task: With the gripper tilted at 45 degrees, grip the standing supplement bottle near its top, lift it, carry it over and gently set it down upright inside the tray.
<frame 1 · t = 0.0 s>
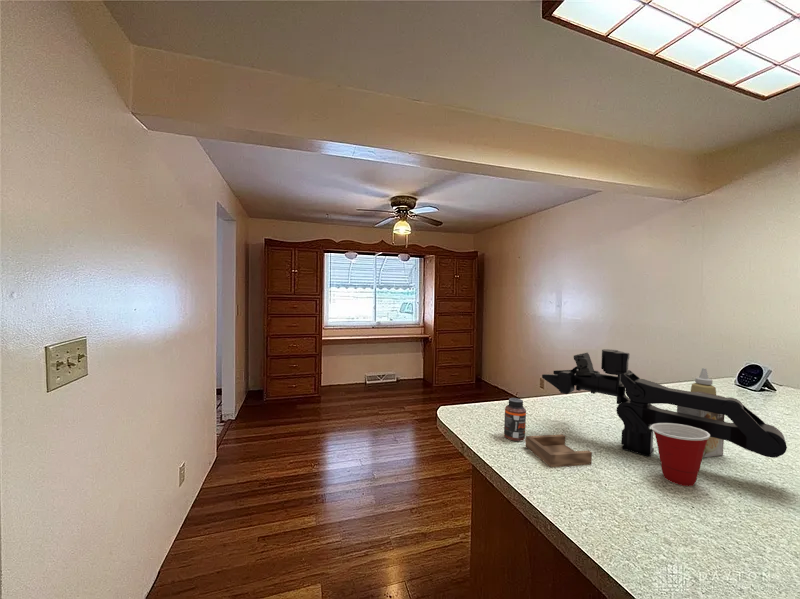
hand: (548, 374, 114), 17 cm above the countertop, tool horizontal, fingers open, 9 cm apart
plastic cup: (677, 480, 81), on the countertop
squeeze bottle: (702, 419, 124), on the countertop
supplement bottle: (514, 438, 102), on the countertop
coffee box: (698, 452, 96), on the countertop
tray: (556, 455, 91), on the countertop
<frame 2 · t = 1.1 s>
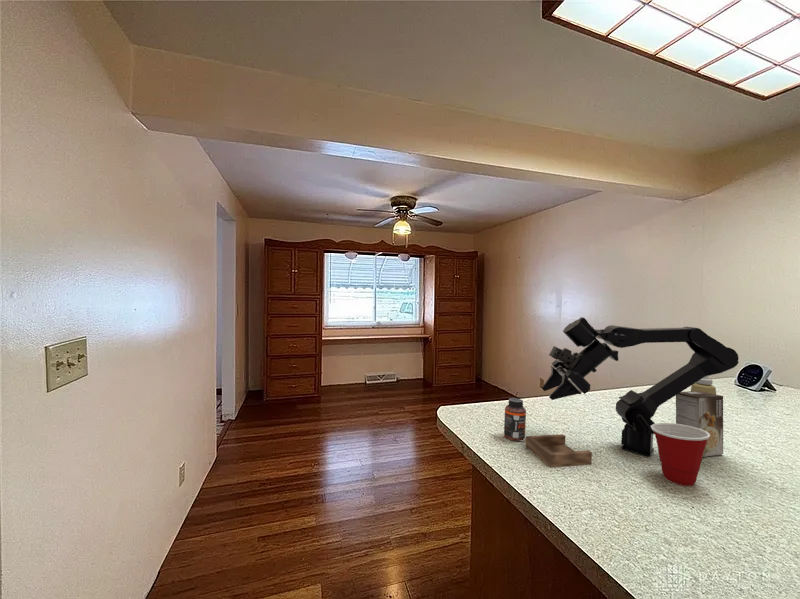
hand: (546, 393, 100), 14 cm above the countertop, tool tilted 45°, fingers open, 9 cm apart
nothing on the countertop moved.
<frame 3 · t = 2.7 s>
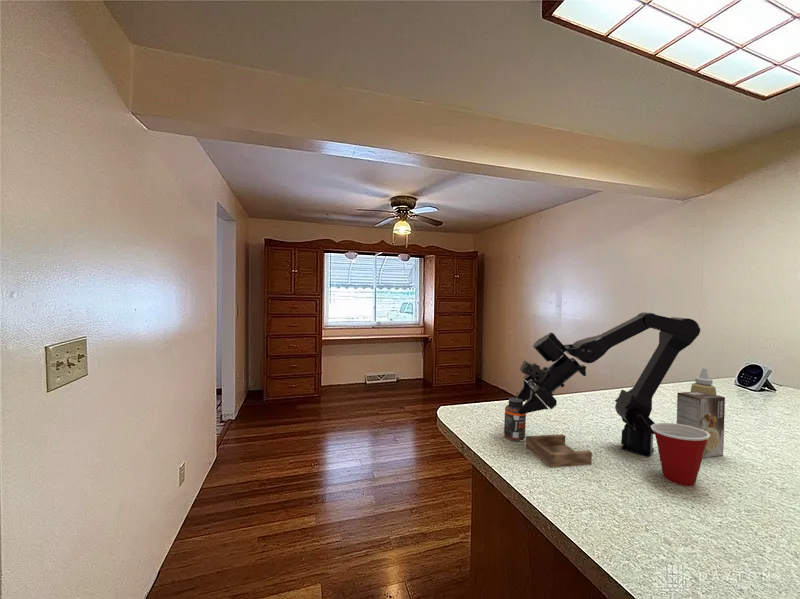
hand: (516, 407, 102), 9 cm above the countertop, tool tilted 45°, fingers open, 9 cm apart
nothing on the countertop moved.
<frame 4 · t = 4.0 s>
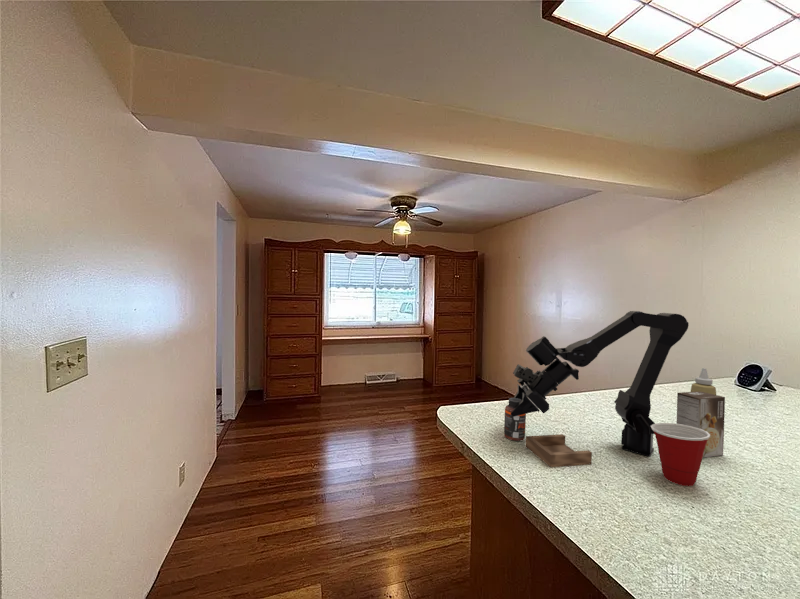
hand: (510, 411, 102), 8 cm above the countertop, tool tilted 45°, fingers closed on supplement bottle, 6 cm apart
supplement bottle: (514, 438, 102), on the countertop, touching gripper
everything else where it was.
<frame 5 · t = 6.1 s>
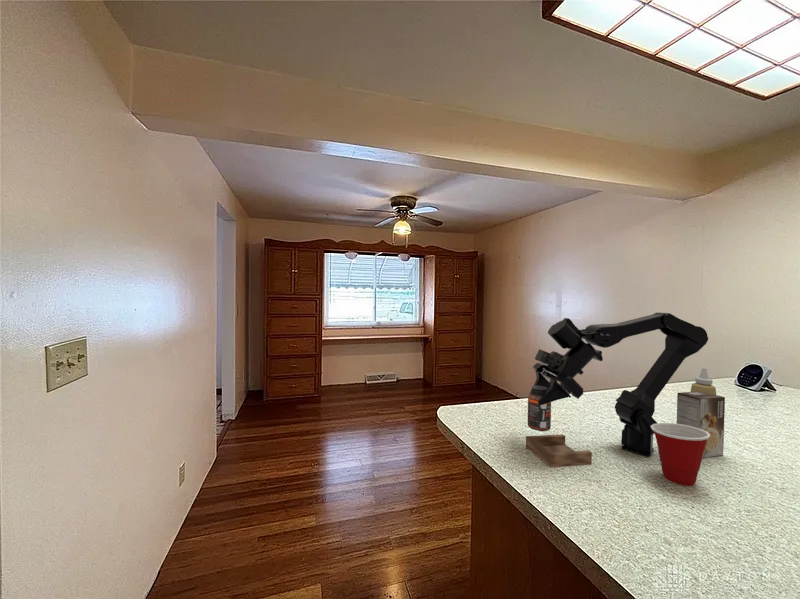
hand: (534, 400, 95), 13 cm above the countertop, tool tilted 45°, fingers closed on supplement bottle, 6 cm apart
supplement bottle: (539, 428, 95), point 5 cm above the countertop, touching gripper
everything else where it was.
when the fingers open (9 cm above the countertop, at t = 8.4 s): supplement bottle stays where it is, resting on tray.
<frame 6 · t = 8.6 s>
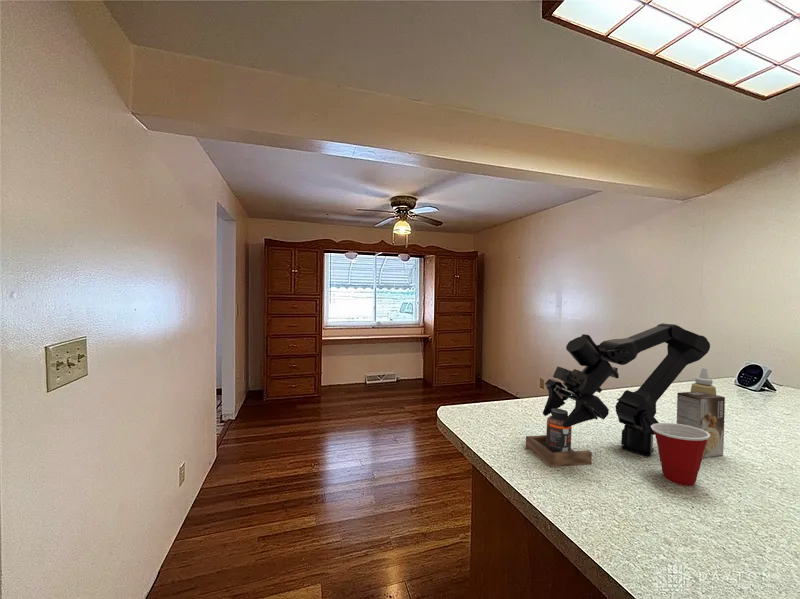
hand: (553, 420, 91), 9 cm above the countertop, tool tilted 45°, fingers open, 8 cm apart
supplement bottle: (558, 454, 91), resting on tray
everything else where it was.
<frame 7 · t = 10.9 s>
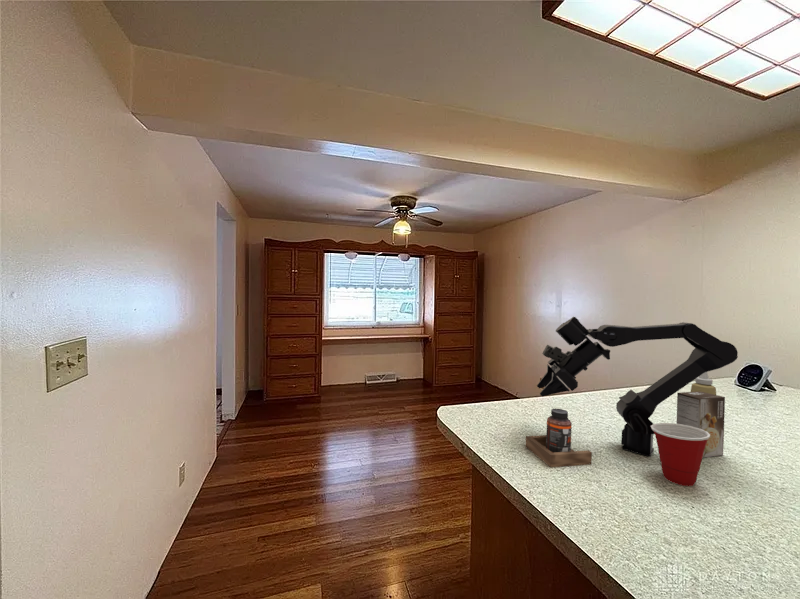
hand: (539, 390, 104), 14 cm above the countertop, tool tilted 45°, fingers open, 9 cm apart
nothing on the countertop moved.
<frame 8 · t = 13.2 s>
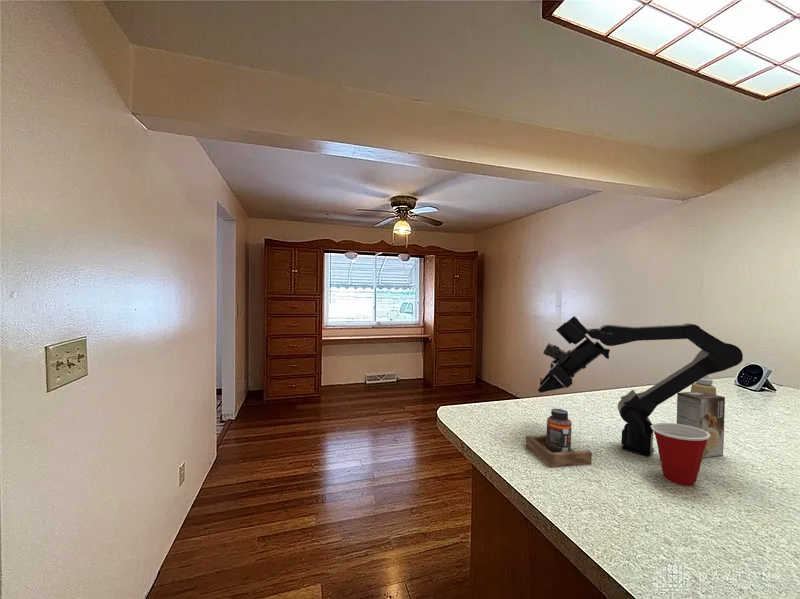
hand: (539, 387, 107), 14 cm above the countertop, tool tilted 45°, fingers open, 9 cm apart
nothing on the countertop moved.
at the end: supplement bottle 0.3 cm off-centre on the tray, point 0.4 cm above the tray's base; supplement bottle tilted 0°; the gripper is holding nothing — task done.
